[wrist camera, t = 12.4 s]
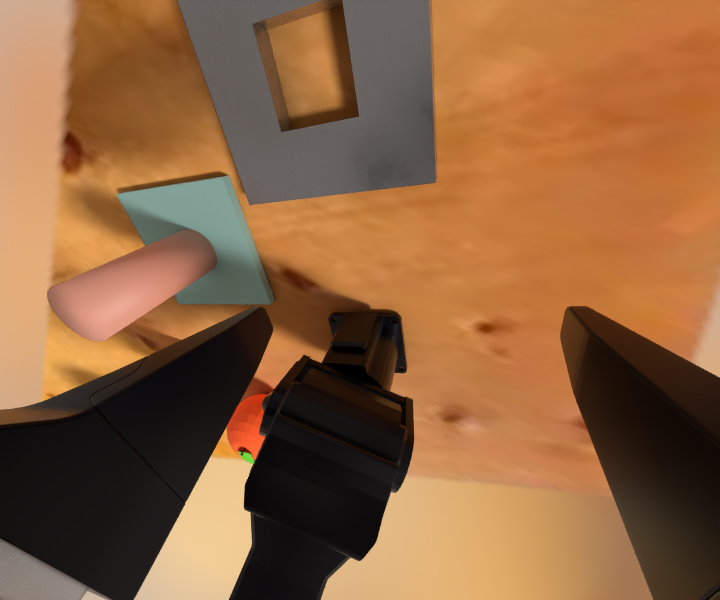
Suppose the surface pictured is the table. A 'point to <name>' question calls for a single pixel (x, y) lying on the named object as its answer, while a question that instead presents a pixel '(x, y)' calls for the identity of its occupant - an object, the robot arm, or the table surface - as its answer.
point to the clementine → (247, 428)
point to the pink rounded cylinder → (131, 284)
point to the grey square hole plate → (329, 140)
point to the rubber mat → (217, 223)
